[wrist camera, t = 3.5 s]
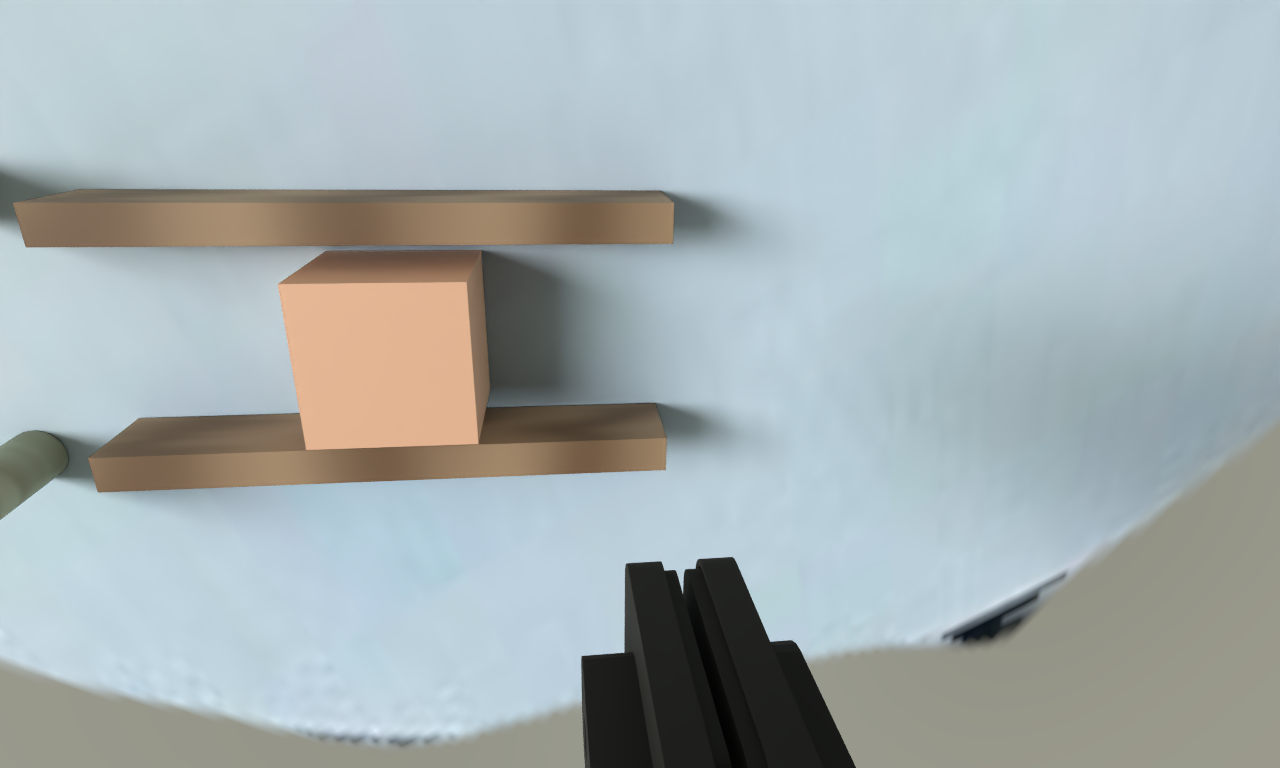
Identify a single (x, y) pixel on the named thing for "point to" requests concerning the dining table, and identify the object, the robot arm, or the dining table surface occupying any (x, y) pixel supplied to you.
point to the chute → (276, 441)
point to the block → (388, 348)
